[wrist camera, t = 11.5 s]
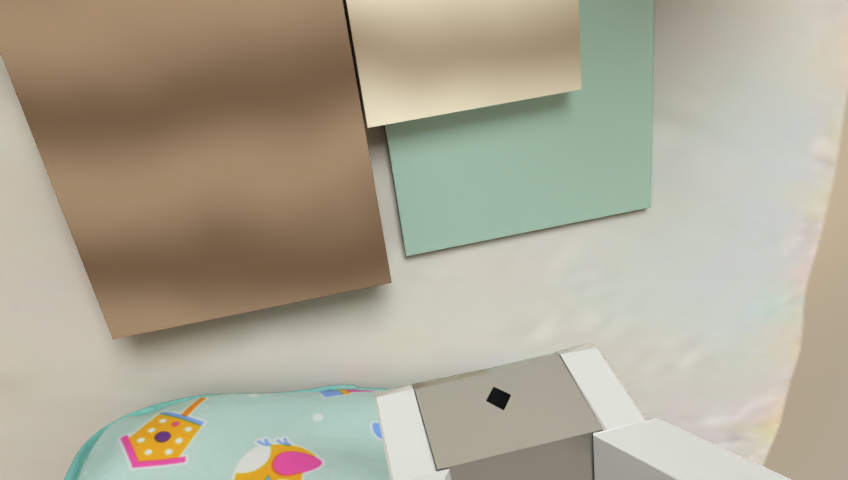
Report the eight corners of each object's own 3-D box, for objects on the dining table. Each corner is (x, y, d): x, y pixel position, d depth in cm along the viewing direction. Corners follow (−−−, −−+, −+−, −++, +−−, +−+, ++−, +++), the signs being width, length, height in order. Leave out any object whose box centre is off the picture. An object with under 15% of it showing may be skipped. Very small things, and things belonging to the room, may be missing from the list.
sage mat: (324, -252, 26) (325, -253, 26) (653, -295, 27) (658, -297, 27) (405, 252, 35) (406, 256, 35) (647, 203, 36) (650, 207, 36)
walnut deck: (-68, -200, 25) (-101, -207, 22) (295, -248, 26) (297, -258, 24) (123, 308, 34) (112, 339, 32) (383, 256, 35) (391, 282, 33)
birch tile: (338, -33, 29) (341, -28, 27) (563, -68, 30) (577, -65, 28) (363, 116, 32) (367, 127, 30) (568, 80, 32) (581, 89, 31)
